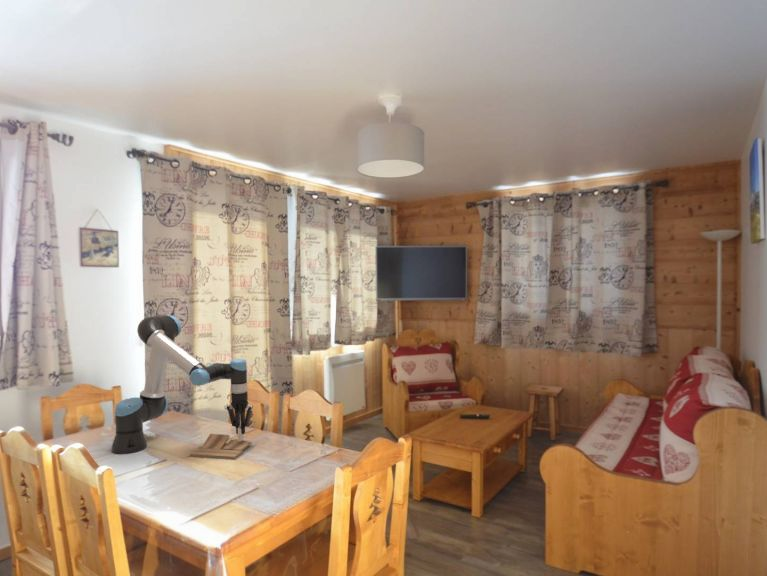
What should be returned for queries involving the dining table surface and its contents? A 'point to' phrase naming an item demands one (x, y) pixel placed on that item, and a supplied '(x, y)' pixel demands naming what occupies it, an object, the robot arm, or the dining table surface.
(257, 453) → the dining table surface
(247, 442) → the plank
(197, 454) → the underlay
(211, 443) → the plank
